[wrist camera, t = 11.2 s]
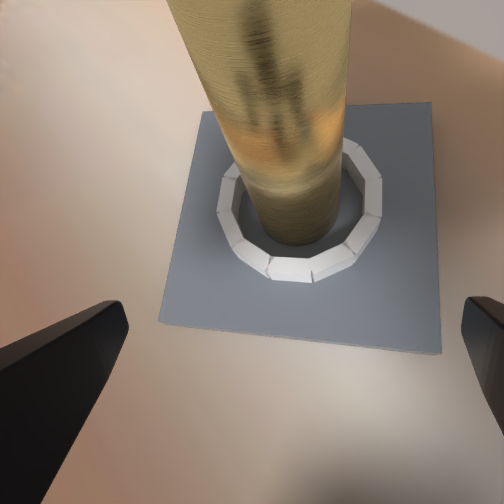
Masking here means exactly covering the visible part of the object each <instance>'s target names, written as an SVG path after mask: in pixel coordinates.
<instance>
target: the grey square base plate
mask: <svg viewBox="0 0 504 504" xmlns="http://www.w3.org/2000/svg"><path fill="white" fill-rule="evenodd" d="M158 322H160V323H163V324H166V325H173V326H182V327H191V328H199V329H208V330H217V331H226V332H234V333H243V334H252V335H261V336H270V337H278V338H287V339H296V340H305V341H313V342H322V343H331V344H340V345H349V346H357V347H366V348H375V349H384V350H392V351H401V352H410V353H419V354H428V355H438V354H442V347H441V324H440V300H439V277H438V254H437V231H436V207H435V184H434V161H433V138H432V114H431V102H426V103H401V104H377V105H352V106H345V118H344V134H343V149H342V165H341V180H340V196H339V211H338V217H337V220H336V223H335V225H334V226H333V228H332V229H331V231H330V232H329V233H328V234H327V235H326V236H324V237H323V238H322V239H320V240H319V241H317V242H314V243H312V244H309V245H304V246H289V245H285V244H282V243H279V242H277V241H276V240H274V239H273V238H271V237H270V236H269V235H268V234H267V233H266V231H265V230H264V228H263V226H262V224H261V222H260V220H259V217H258V215H257V213H256V210H255V208H254V205H253V203H252V201H251V198H250V196H249V194H248V191H247V189H246V187H245V184H244V182H243V180H242V177H241V175H240V173H239V170H238V168H237V165H236V163H235V161H234V158H233V156H232V154H231V151H230V149H229V147H228V144H227V142H226V140H225V137H224V135H223V133H222V130H221V128H220V125H219V123H218V121H217V118H216V116H215V114H214V111H206V112H202V117H201V122H200V126H199V131H198V136H197V140H196V145H195V150H194V154H193V159H192V164H191V169H190V173H189V178H188V183H187V187H186V192H185V197H184V201H183V206H182V211H181V215H180V220H179V225H178V229H177V234H176V239H175V243H174V248H173V253H172V257H171V262H170V267H169V272H168V276H167V281H166V286H165V290H164V295H163V300H162V304H161V309H160V314H159V318H158Z"/></svg>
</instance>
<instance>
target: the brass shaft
mask: <svg viewBox="0 0 504 504" xmlns="http://www.w3.org/2000/svg"><path fill="white" fill-rule="evenodd" d="M166 1H167V3H168V5H169V8H170V10H171V13H172V15H173V17H174V20H175V22H176V24H177V27H178V29H179V31H180V34H181V36H182V38H183V41H184V43H185V45H186V48H187V50H188V53H189V55H190V57H191V60H192V62H193V64H194V67H195V69H196V71H197V74H198V76H199V78H200V81H201V83H202V85H203V88H204V90H205V93H206V95H207V97H208V100H209V102H210V104H211V107H212V109H213V111H214V114H215V116H216V118H217V121H218V123H219V125H220V128H221V130H222V133H223V135H224V137H225V140H226V142H227V144H228V147H229V149H230V151H231V154H232V156H233V158H234V161H235V163H236V165H237V168H238V170H239V173H240V175H241V177H242V180H243V182H244V184H245V187H246V189H247V191H248V194H249V196H250V198H251V201H252V203H253V205H254V208H255V210H256V213H257V215H258V217H259V220H260V222H261V224H262V226H263V228H264V230H265V231H266V233H267V234H268V235H269V236H270V237H271V238H273V239H274V240H276V241H277V242H279V243H282V244H285V245H289V246H304V245H309V244H312V243H314V242H317V241H319V240H320V239H322V238H323V237H324V236H326V235H327V234H328V233H329V232H330V231H331V229H332V228H333V226H334V225H335V223H336V220H337V217H338V211H339V196H340V180H341V165H342V149H343V134H344V118H345V102H346V87H347V71H348V55H349V40H350V24H351V9H352V0H166Z"/></svg>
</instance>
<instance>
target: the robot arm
mask: <svg viewBox="0 0 504 504" xmlns="http://www.w3.org/2000/svg"><path fill="white" fill-rule="evenodd" d="M128 330H129V324H128V321H127V318H126V315H125V311H124V308H123V305H122V303H121V302H120V301H117V300H109V301H103V302H101V303H99V304H97V305H95V306H92V307H90V308H88V309H86V310H84V311H81V312H79V313H77V314H75V315H73V316H70V317H68V318H66V319H64V320H62V321H59V322H57V323H55V324H53V325H51V326H49V327H46V328H44V329H42V330H40V331H38V332H35V333H33V334H31V335H29V336H27V337H24V338H22V339H20V340H18V341H16V342H13V343H11V344H9V345H7V346H5V347H2V348H0V504H41V502H42V500H43V498H44V497H45V495H46V493H47V491H48V489H49V487H50V486H51V484H52V482H53V480H54V478H55V476H56V474H57V473H58V471H59V469H60V467H61V465H62V463H63V462H64V460H65V458H66V456H67V454H68V452H69V451H70V449H71V447H72V445H73V443H74V441H75V440H76V438H77V436H78V434H79V432H80V430H81V429H82V427H83V425H84V423H85V421H86V419H87V417H88V416H89V414H90V412H91V410H92V408H93V406H94V405H95V403H96V401H97V399H98V397H99V395H100V394H101V392H102V390H103V388H104V386H105V384H106V382H107V380H108V378H109V376H110V374H111V372H112V369H113V367H114V365H115V362H116V360H117V358H118V355H119V353H120V350H121V348H122V346H123V343H124V341H125V339H126V336H127V334H128ZM461 332H462V336H463V339H464V342H465V345H466V348H467V350H468V353H469V356H470V359H471V362H472V364H473V367H474V370H475V373H476V376H477V378H478V381H479V384H480V387H481V389H482V392H483V394H484V396H485V398H486V401H487V403H488V405H489V407H490V409H491V411H492V413H493V415H494V417H495V419H496V421H497V423H498V425H499V427H500V429H501V431H502V433H503V435H504V304H502V303H500V302H498V301H496V300H494V299H491V298H489V297H486V296H474V297H468V298H467V299H466V301H465V304H464V311H463V317H462V323H461Z"/></svg>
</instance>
